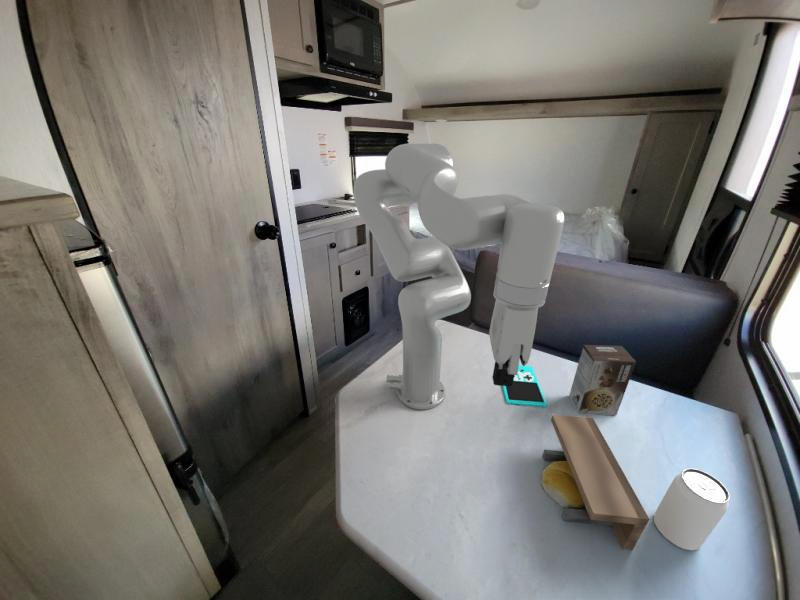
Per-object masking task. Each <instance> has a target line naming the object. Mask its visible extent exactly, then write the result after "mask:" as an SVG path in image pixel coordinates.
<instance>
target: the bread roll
mask: <svg viewBox="0 0 800 600" xmlns="http://www.w3.org/2000/svg"><path fill="white" fill-rule="evenodd" d="M540 481H541V482H540V483H541V486H542V488H543V490H544V492H545V493H546V494H547V495H548V496H549V497H550V498H551V499H552V500H553V501H554V502H555V503H557V504H559V505H560V506H561V507H563V508H568V509H577V510H578V509H581V508H583V507H586V506H585V504H584V501H583V499H582V496H581V494H580V491H579V489H578V486H577V484H576V481H575V479H574V476H573V474H572V472H571V469H570V467H569V464H568V462H567V461H552V462H551V463H549V464H548V465H547V466H546V467H545V468H544V470H543V472H542V475H541V480H540Z"/></svg>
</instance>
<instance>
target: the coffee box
mask: <svg viewBox="0 0 800 600" xmlns="http://www.w3.org/2000/svg"><path fill="white" fill-rule="evenodd" d="M636 364H637V361H636V360H635V359H634V358H633V357H632V355H631V354H630V352H628V351H627V350H626V349H625V347H623V346H622V345H602V344H601V345H598V344H597V345H595V344H583V346H582V350H581V353H580V356H579V360H578V364H577V367H576V371H575V373H574V374H575V375H574V378H573V380H572V385H571V388H570V391H569V399H570V400H571V402H572V404H573V407H574V408H575V410H576V412H577V413H579V414H589V415H590V414H591V415H605V416H608V415H609V416H617V415H618V412H619V409H620V406H621V404H622V401H623V398H624V396H625V392H626V390H627V387H628V385H629V382H630V381H631V377H632V374H633V371H634V369H635V366H636Z"/></svg>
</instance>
